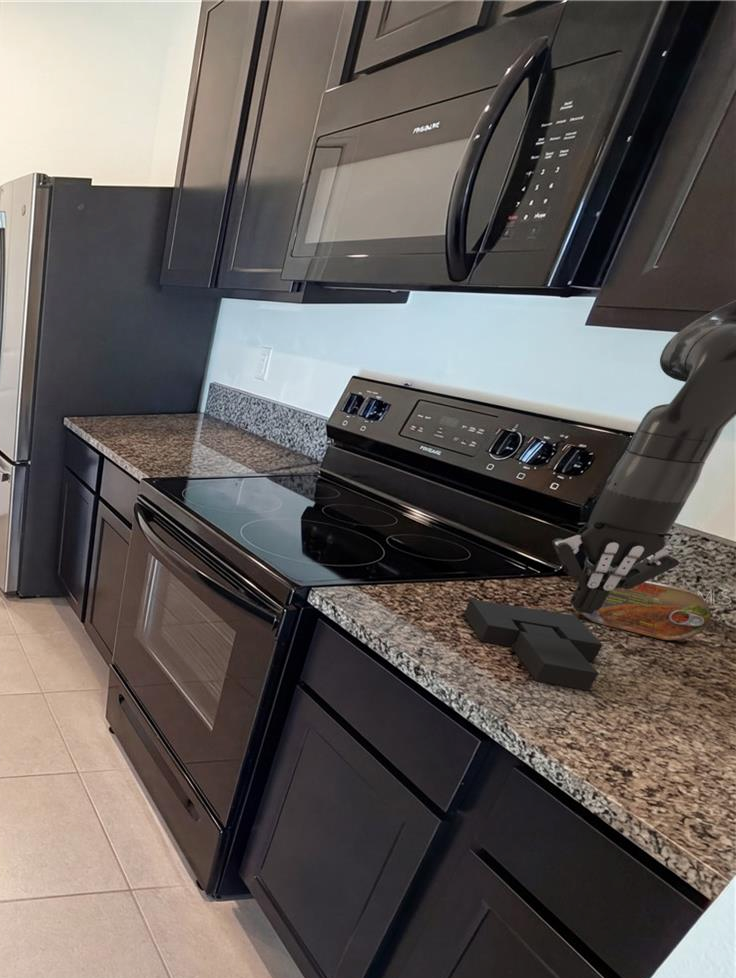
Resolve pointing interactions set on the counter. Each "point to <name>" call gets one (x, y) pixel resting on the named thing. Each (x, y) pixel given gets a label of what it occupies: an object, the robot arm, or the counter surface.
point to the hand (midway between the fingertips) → (582, 610)
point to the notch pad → (504, 620)
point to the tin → (654, 611)
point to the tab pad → (552, 658)
